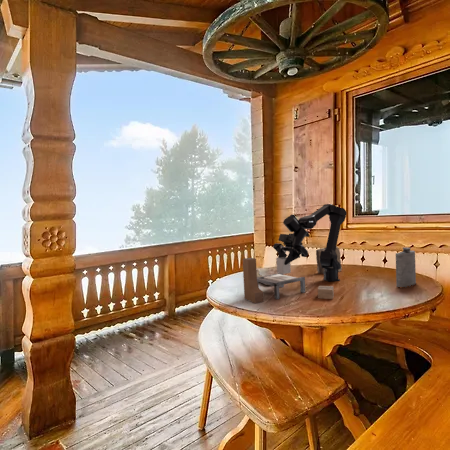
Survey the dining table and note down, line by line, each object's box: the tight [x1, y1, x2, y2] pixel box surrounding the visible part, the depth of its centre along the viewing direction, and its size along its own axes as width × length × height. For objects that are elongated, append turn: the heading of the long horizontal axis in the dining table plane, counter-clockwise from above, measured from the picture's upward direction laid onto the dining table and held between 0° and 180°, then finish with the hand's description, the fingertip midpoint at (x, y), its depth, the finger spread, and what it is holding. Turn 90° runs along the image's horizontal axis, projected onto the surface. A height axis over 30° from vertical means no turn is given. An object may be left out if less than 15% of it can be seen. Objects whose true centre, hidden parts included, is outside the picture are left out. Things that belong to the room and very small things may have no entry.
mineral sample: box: [315, 245, 343, 275], centre depth 186 cm, size 17×4×15 cm, turn 108°
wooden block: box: [242, 257, 265, 304], centre depth 134 cm, size 9×4×18 cm, turn 27°
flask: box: [395, 247, 417, 288], centre depth 147 cm, size 4×14×18 cm, turn 124°
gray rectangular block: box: [275, 256, 292, 275], centre depth 147 cm, size 4×4×7 cm
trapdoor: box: [260, 273, 297, 288], centre depth 145 cm, size 12×12×3 cm
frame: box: [257, 272, 306, 300], centre depth 146 cm, size 18×16×7 cm
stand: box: [317, 285, 335, 300], centre depth 135 cm, size 6×6×4 cm
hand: (281, 263), depth 146 cm, fingers closed on gray rectangular block, 4 cm apart
